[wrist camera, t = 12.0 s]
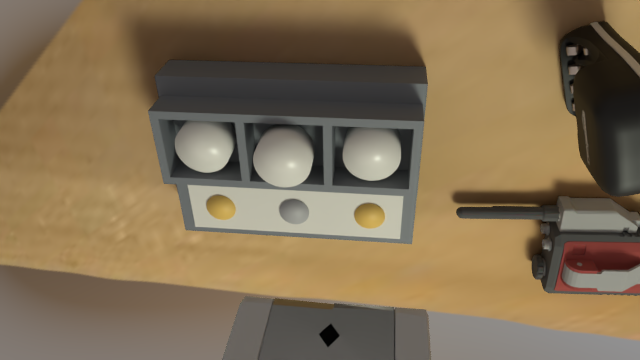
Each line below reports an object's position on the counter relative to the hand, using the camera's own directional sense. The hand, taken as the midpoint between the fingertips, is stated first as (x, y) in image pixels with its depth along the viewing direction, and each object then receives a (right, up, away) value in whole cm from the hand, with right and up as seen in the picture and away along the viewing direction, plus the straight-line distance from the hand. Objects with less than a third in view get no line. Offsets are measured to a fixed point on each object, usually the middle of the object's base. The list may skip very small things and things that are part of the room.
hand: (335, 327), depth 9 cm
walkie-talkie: (+21, -2, +37) cm, 43 cm away
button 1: (-8, +6, +31) cm, 33 cm away
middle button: (-3, +5, +29) cm, 30 cm away
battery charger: (+18, +10, +29) cm, 35 cm away
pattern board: (-2, +5, +35) cm, 35 cm away
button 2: (+4, +5, +30) cm, 31 cm away
